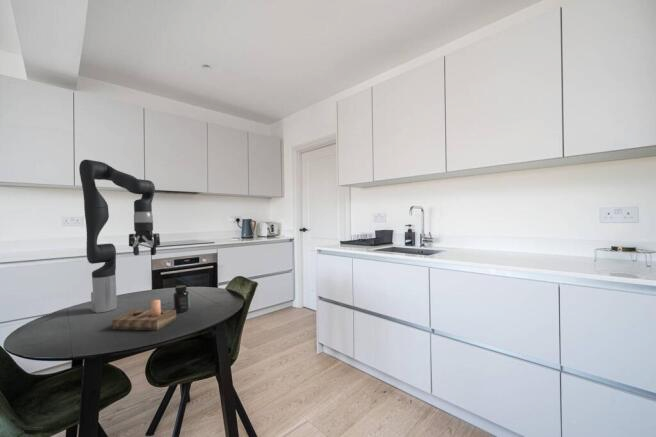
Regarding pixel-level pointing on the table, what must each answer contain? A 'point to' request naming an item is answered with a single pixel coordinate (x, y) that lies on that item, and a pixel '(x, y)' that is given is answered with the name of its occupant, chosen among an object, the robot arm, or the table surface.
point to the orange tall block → (155, 308)
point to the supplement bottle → (181, 299)
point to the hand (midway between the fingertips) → (144, 255)
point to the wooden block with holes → (143, 320)
